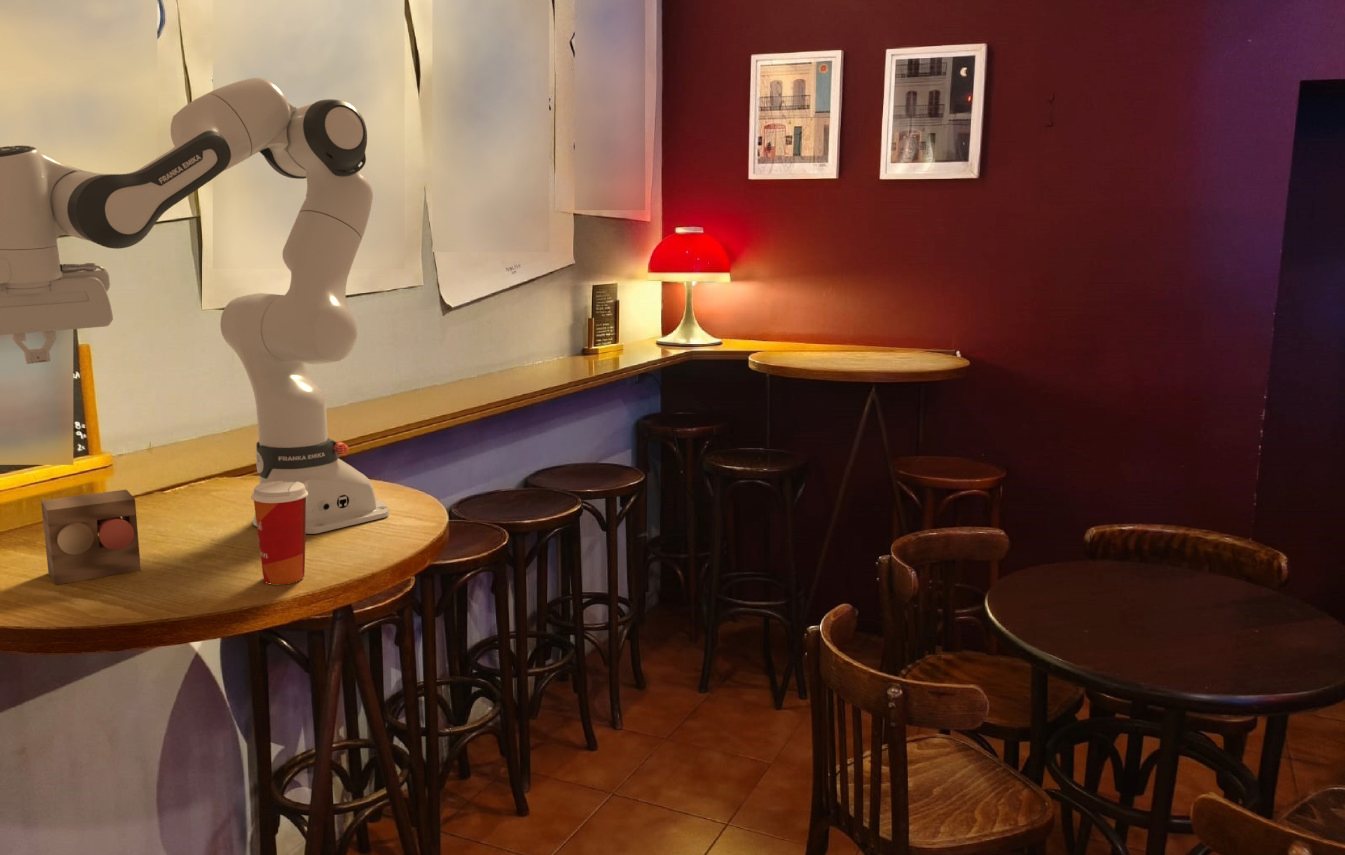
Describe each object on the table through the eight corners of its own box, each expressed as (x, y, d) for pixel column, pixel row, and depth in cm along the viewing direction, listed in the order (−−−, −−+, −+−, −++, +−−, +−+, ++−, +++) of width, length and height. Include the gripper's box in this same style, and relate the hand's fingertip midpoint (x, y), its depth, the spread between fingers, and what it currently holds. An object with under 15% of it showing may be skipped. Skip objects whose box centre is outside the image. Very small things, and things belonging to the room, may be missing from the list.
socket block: (132, 558, 153) (126, 489, 150) (142, 572, 147) (136, 500, 145) (48, 572, 146) (41, 500, 144) (55, 587, 141) (48, 512, 138)
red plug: (120, 528, 153) (118, 500, 153) (135, 546, 145) (132, 518, 144) (87, 533, 151) (85, 505, 150) (101, 552, 143) (98, 522, 142)
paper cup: (272, 567, 151) (267, 478, 148) (321, 571, 150) (317, 481, 147) (245, 586, 143) (239, 492, 140) (296, 589, 142) (291, 495, 140)
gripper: (102, 259, 148) (114, 349, 153) (-67, 267, 136) (-49, 365, 140) (111, 265, 144) (123, 358, 148) (-63, 274, 131) (-45, 375, 136)
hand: (38, 362), depth 144 cm, fingers closed
